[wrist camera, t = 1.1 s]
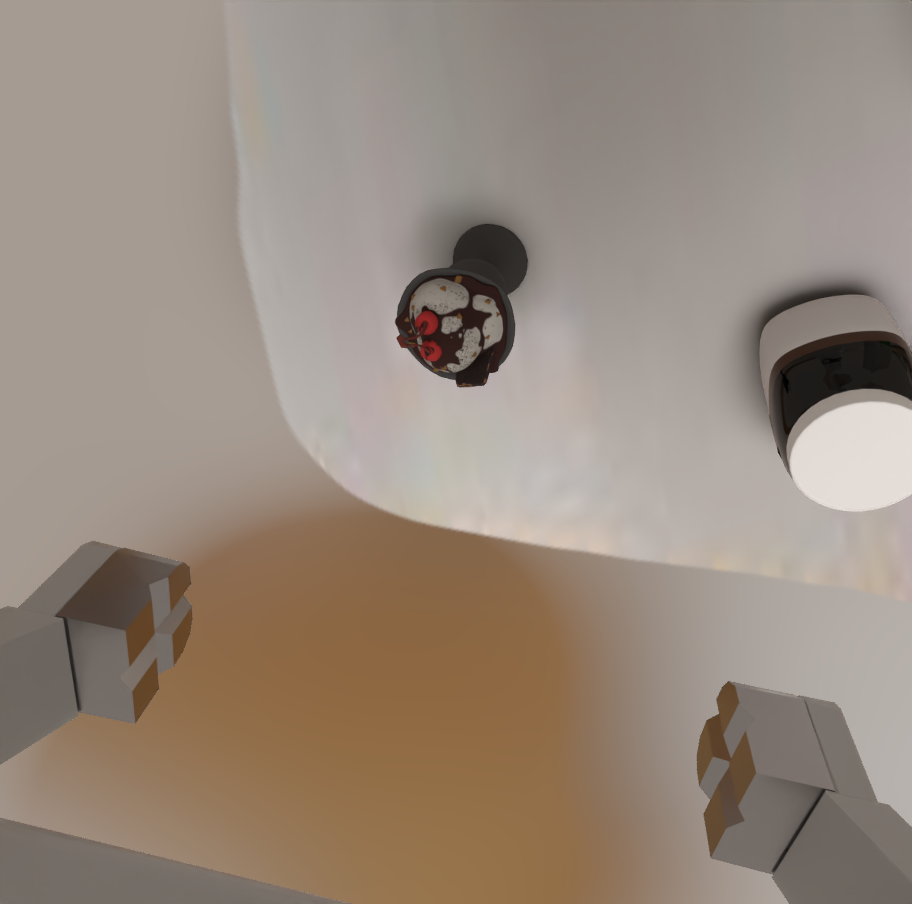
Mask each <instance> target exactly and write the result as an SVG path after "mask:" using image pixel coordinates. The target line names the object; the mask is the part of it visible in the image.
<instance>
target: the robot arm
mask: <svg viewBox="0 0 912 904" xmlns="http://www.w3.org/2000/svg"><path fill="white" fill-rule="evenodd" d="M190 585H191V577H190V567H189V566H188V565H187V564H186V563H184V562H180V561H176V560H172V559H168V558H164V557H160V556H156V555H152V554H148V553H144V552H139V551H135V550H131V549H127V548H120V547H116V546H112V545H108V544H104V543H100V542H96V541H91V542H88V543H85V544H83V545H82V546H81V547H80V548H79V549H78V550H77V551H76V552H75V553H74V554H73V555H71V557H69V558H68V559H67V561H66V562H64V563H63V564H62V565H61V566H60V567H59V568H58V569H57V570H56V571H55V572H54V573H53V574H52V575H51V576H50V577H49V578H48V579H47V580H46V581H45V582H44V583H43V584H42V585H41V586H40V587H39V588H38V589H37V590H36V591H35V592H34V593H33V594H32V595H31V596H30V597H29V598H28V599H27V600H26V601H25V602H24V603H22V604H21V605H20V606H19V607H18V608H14V607H9V606H7V607H4V608H2V609H0V764H2V763H4V762H5V761H7V760H8V759H10V758H12V757H13V756H15V755H16V754H18V753H20V752H21V751H23V750H24V749H26V748H28V747H29V746H31V745H32V744H34V743H35V742H37V741H39V740H40V739H42V738H43V737H45V736H47V735H48V734H50V733H52V732H53V731H55V730H56V729H58V728H59V727H61V726H63V725H64V724H66V723H67V722H69V721H71V720H72V719H74V718H75V717H77V716H78V712H80V713H85V714H90V715H94V716H99V717H105V718H109V719H114V720H120V721H124V722H129V723H134V724H135V723H136V722H137V721H138V719H139V718H140V716H141V715H142V713H143V712H144V710H145V709H146V707H147V706H148V704H149V703H150V701H151V700H152V698H153V697H154V695H155V693H156V692H157V691H158V689H159V684H158V674H160V673H162V672H164V671H166V670H168V669H169V668H172V667H173V666H174V665H175V664H176V662H177V661H178V659H179V657H180V656H181V654H182V653H183V651H184V648H185V645H186V643H187V640H188V638H189V635H190V631H191V625H192V605H191V604H190V603H189V602H188V600H187V599H186V597H185V596H184V595H183V594H184V592H185V591H186V590H187V589H188V587H189V586H190ZM716 700H717V705H718V710H719V714H718V715H716V716H714V717H712V718H710V719H708V720H707V721H706V723H705V726H704V729H703V731H702V733H701V736H700V740H699V746H698V752H697V774H698V780H699V786H700V788H701V789H702V790H703V791H704V793H705V794H706V795H707V796H708V798H709V799H710V802H709V804H708V806H707V808H706V810H705V812H704V820H705V826H706V832H707V838H708V844H709V851H710V857H711V858H712V859H716V860H720V861H724V862H727V863H731V864H735V865H739V866H743V867H747V868H750V869H754V870H758V871H762V872H765V873H769V874H773V876H772V878H773V880H774V881H775V883H776V884H777V886H778V887H779V889H780V890H781V892H782V893H783V895H784V896H785V898H786V899H787V901H788V902H789V904H912V827H911V826H910V825H909V824H908V823H907V822H906V821H905V820H904V819H903V818H902V817H901V816H900V815H899V814H898V813H897V812H896V811H895V810H894V809H893V808H892V807H891V806H889V805H887V804H883V803H878V801H877V799H876V796H875V794H874V791H873V789H872V786H871V784H870V781H869V779H868V776H867V774H866V771H865V769H864V766H863V764H862V761H861V759H860V756H859V754H858V751H857V749H856V746H855V744H854V741H853V739H852V736H851V734H850V731H849V728H848V726H847V724H846V721H845V718H844V716H843V713H842V711H841V709H840V708H839V707H838V706H837V705H836V704H835V703H834V702H829V701H824V700H819V699H814V698H809V697H804V696H796V695H793V694H788V693H783V692H778V691H773V690H769V689H763V688H759V687H754V686H750V685H745V684H740V683H735V682H731V681H728V682H727V683H726V684H725V685H724V686H723V687H722V689H721V691H720V693H719V695H718V697H717V699H716ZM0 904H350V903H346V902H342V901H338V900H334V899H330V898H326V897H321V896H317V895H314V894H310V893H305V892H301V891H297V890H293V889H289V888H285V887H281V886H277V885H273V884H269V883H265V882H261V881H257V880H252V879H249V878H244V877H240V876H236V875H232V874H228V873H224V872H219V871H216V870H212V869H207V868H204V867H199V866H195V865H191V864H187V863H183V862H179V861H175V860H170V859H166V858H163V857H159V856H155V855H150V854H146V853H142V852H138V851H134V850H130V849H125V848H122V847H118V846H114V845H110V844H106V843H101V842H97V841H93V840H89V839H85V838H81V837H76V836H73V835H68V834H64V833H61V832H56V831H52V830H48V829H44V828H40V827H36V826H32V825H27V824H24V823H20V822H15V821H11V820H7V819H3V818H0Z"/></svg>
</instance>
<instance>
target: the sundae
mask: <svg viewBox="0 0 912 904" xmlns="http://www.w3.org/2000/svg"><path fill="white" fill-rule="evenodd" d="M527 261H528V260H527V256H526V252H525V249H524V246H523V245H522V243H521V242H520V240H519V239H518V238H517V237H516V236H515V234H513V233H512V232H510V231H509V230H507V229H505V228H503V227H501V226H497V225H489V224H485V225H480V226H476V227H473V228H471V229H470V230H468V231H467V232H466V233H465V234H463V235H462V236H461V237H460V239H459V241H458V242H457V244H456V247H455V249H454V256H453V265H451V266H450V267H449V268H440V269H433V270H428V271H425V272H423V273H421V274H419V275H418V276H417V277H416V278H414V279H413V280H412V281H411V282H410V284H409V285H408V286H407V287H406V289H405V291H404V293H403V295H402V297H401V300H400V302H399V305H398V311H397V318H396V320H395V323H396V326H397V327H398V331H399V333H400V335H399V336H398V337H397V340H398V342H399V344H400V346H401V348H408V350H409V351H410V352H411V353H412V355H413V356H414V357H415V358H416V359H417V360H418V361H419V362H420V363H421V364H422V365H423V366H424V367H426V368H427V369H428V370H430V371H431V372H433V373H435V374H437V375H439V376H440V377H444V378H448V379H452V380H456V384H457V387H474V386H484V385H485V384H486V383H487V379H488V376H489V373H494V372H496V371H498V369H499V366H500V365H501V364H502V363H503V362H504V361H505V360H506V358H507V357H508V355H509V353H510V351H511V349H512V347H513V342H514V337H515V321H514V315H513V310H512V306H511V303H510V301H509V299H508V296H507V295H508V294H509V293H511V292H513V291H514V290H515V289H516V288H518V287H519V285H520V284H521V282H522V281H523V279H524V277H525V275H526V271H527Z"/></svg>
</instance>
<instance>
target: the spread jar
mask: <svg viewBox="0 0 912 904" xmlns="http://www.w3.org/2000/svg"><path fill="white" fill-rule="evenodd" d="M759 361H760V372H761V379H762V385H763V390H764V394H765V398H766V403H767V407H768V412H769V418H770V422H771V426H772V430H773V434H774V438H775V442H776V445H777V450H778V453H779V455H780V457H781V459H782V461H783V463H784V466H785V468H786V470H787V472H788V473H789V475H790V476H791V478H792V479H793V481H794V482H795V484H796V485H797V487H798V488H799V490H800V491H801V492H802V493H803V494H805V495H806V496H807V497H808V498H810V499H811V500H813V501H814V502H816V503H818V504H820V505H823V506H825V507H828V508H832V509H836V510H841V511H869V510H874V509H879V508H883V507H886V506H889V505H892V504H894V503H897V502H899V501H901V500H903V499H904V498H906V497H908V496H910V495H911V494H912V352H911V350H910V348H909V346H908V344H907V342H906V340H905V338H904V336H903V335H902V333H901V331H900V329H899V328H898V326H897V324H896V323H895V321H894V319H893V317H892V316H891V314H890V313H889V311H888V310H887V308H886V307H885V306H884V305H883V304H882V303H881V302H880V301H879V300H877V299H875V298H872V297H870V296H866V295H839V296H831V297H825V298H821V299H816V300H813V301H809V302H806V303H803V304H800V305H797V306H795V307H792V308H790V309H788V310H786V311H784V312H782V313H780V314H778V315H776V316H775V317H774V318H772V319H771V320H770V321H769V322H768V323H767V324H766V325H765V327H764V329H763V331H762V335H761V339H760V349H759Z"/></svg>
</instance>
